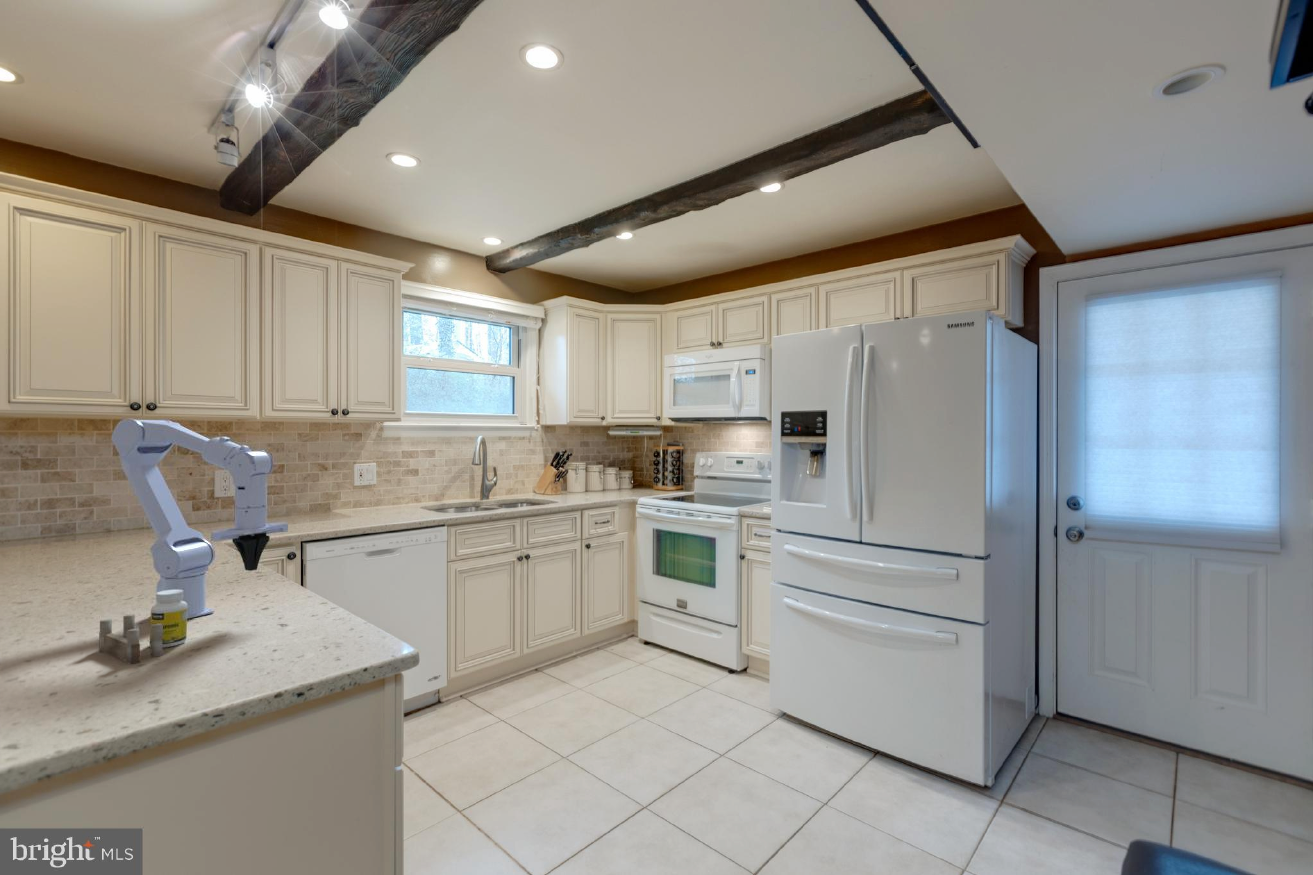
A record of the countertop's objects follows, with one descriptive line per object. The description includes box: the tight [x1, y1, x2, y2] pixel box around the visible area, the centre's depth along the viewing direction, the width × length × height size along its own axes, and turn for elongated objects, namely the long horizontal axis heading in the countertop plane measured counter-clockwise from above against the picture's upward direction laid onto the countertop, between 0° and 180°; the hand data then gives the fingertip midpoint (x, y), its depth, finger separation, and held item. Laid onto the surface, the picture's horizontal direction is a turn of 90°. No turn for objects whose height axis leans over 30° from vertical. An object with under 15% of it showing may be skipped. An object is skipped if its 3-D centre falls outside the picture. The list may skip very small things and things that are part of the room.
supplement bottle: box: [149, 590, 188, 648], centre depth 112 cm, size 5×5×10 cm
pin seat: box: [98, 613, 164, 665], centre depth 107 cm, size 13×5×6 cm, turn 62°
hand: (251, 569), depth 127 cm, fingers closed
